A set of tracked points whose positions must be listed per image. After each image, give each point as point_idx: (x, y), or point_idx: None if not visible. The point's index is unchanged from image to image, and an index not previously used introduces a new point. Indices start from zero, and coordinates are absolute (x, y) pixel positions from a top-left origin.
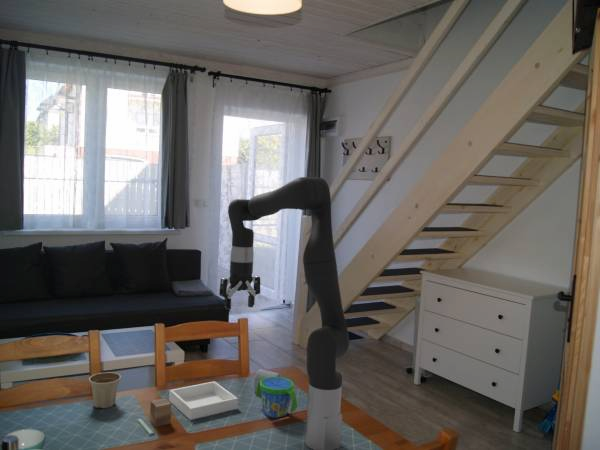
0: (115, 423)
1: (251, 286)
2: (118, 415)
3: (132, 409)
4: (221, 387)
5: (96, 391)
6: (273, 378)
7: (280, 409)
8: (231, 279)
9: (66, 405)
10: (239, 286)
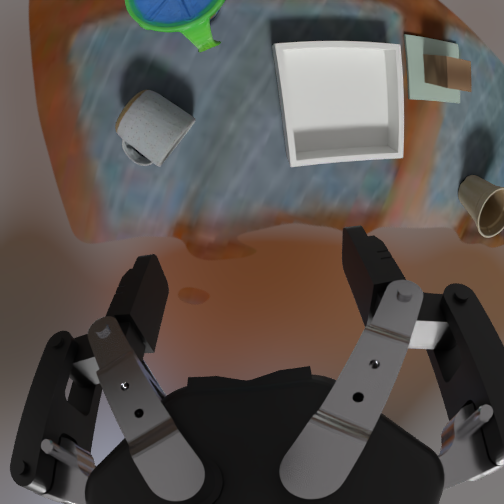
0: (481, 115)
1: (110, 405)
2: (470, 139)
3: (449, 150)
4: (289, 122)
5: (499, 192)
6: (166, 22)
7: None
8: (442, 486)
9: None
10: (317, 412)
